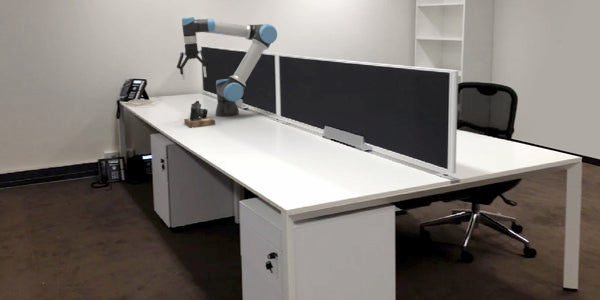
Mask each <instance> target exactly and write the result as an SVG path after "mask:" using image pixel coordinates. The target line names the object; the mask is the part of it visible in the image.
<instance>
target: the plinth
mask: <svg viewBox="0 0 600 300" xmlns="http://www.w3.org/2000/svg"><path fill="white" fill-rule="evenodd" d="M183 123H184V125H185V126H187V127H188V128H189V129H190V128H191V129H193V128H199V127H201V128H202V127H209V126H215V125H216V119H214V118H212V117H210V116H207V117H206V118H202V117H200V116H199V117H198V119H196V121H191V120H190V117H189V118H185V119H184V121H183ZM192 127H193V128H192Z"/></svg>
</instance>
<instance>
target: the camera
mask: <svg viewBox="0 0 600 300" xmlns="http://www.w3.org/2000/svg"><path fill="white" fill-rule="evenodd" d="M208 111H209V110H208V109H207V108H202V103H200V101H199V100H196V101H195V102H194V103H191V107H190V112H189V113H190V115H189V118H190V120H191V121H196V119H198V117H202V118H206V117H208Z"/></svg>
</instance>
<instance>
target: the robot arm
mask: <svg viewBox="0 0 600 300" xmlns="http://www.w3.org/2000/svg"><path fill="white" fill-rule="evenodd" d="M181 26H182V33H183V34H182V35H183V43H184V51H185V52H180V54H179V59H178V62H177V65H176V69H179V73H180V75H181V77H182V80H183V81H186V76H185V75H186V74H185V69H184V67H185V66H186V64H187V63H188V61H189V60H193V59H197V60H198V61H199V62H200V63H201V64H202V65H203V66H202V71H203V78H208V77H207V72H208V66H210V65H211V63H210V61H209V60H208V59H207V57H206V55H205V53H204V50H199V48H198V43H197V42H198V38H197V33H209V34H216V35H222V36H232V37H238V38H244V39H246V40H250V41H252V43H251V45H250V46H249V48H248V50H247V51H246V53H245V55H244V57H243V58H242V60H241V62H240V63H239V65H238V67H237V69H236V70H235V71H234V73H233V75H230V76H229V77H228V78H225V79H217V80H216V82H215V88H216V98H217V99H216V100H217V101H216V102H217V104H216V108H215V116H218V117H230V116H231V117H232V116H236V115H239V114H240V110H239V107H238V105H237V102H238V101H240V99H242V97H243V95H244V90H245V88H246V87H247V85H246V82H247V80H248V78H249V77H250V75H251V73H252V71H253V70H254V68H255V66H256V65H257V63H258V61H259V60H260V58H261V56H262V55H261V54H263V53H264V51H265V50H269V48H270V46H271V44H272V43H274V42H275V41H276V40H277V38H278V31H277V29H276V27H274V25H272V24H269V23H264V24H263V23H262V24H261V23H260V24H259V23H258V24H250V23H249V24H247V25H244V24H237V23H230V22H229V23H228V22H222V21H215V20H214V19H213V18H203V19H201V18H198V19H195V17H194V16H188V17H187V16H186V17H185V16H184V17H182V18H181ZM199 55H201V57H202V58H201V57H200V56H199ZM184 57H185V59H184ZM183 59H184V60H183ZM236 101H237V102H236Z"/></svg>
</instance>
